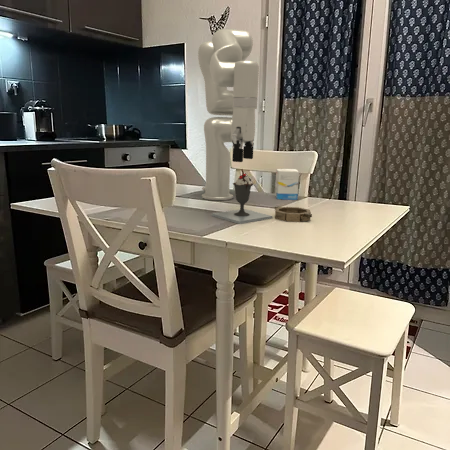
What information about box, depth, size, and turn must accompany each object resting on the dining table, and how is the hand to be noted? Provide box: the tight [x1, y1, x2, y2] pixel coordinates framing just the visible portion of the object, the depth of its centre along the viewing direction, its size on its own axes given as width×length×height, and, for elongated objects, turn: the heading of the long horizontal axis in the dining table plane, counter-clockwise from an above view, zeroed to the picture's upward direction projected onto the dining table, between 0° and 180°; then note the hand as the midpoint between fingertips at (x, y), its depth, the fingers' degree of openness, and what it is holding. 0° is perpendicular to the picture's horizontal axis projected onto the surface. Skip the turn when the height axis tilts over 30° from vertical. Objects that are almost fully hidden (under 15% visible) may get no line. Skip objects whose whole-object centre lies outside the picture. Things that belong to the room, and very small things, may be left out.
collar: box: [274, 206, 313, 223], centre depth 141 cm, size 15×11×2 cm
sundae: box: [232, 168, 254, 216], centre depth 139 cm, size 7×7×15 cm
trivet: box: [211, 208, 274, 225], centre depth 141 cm, size 14×14×1 cm
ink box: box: [274, 168, 300, 201], centre depth 177 cm, size 9×8×12 cm
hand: (242, 160), depth 137 cm, fingers open, 9 cm apart
